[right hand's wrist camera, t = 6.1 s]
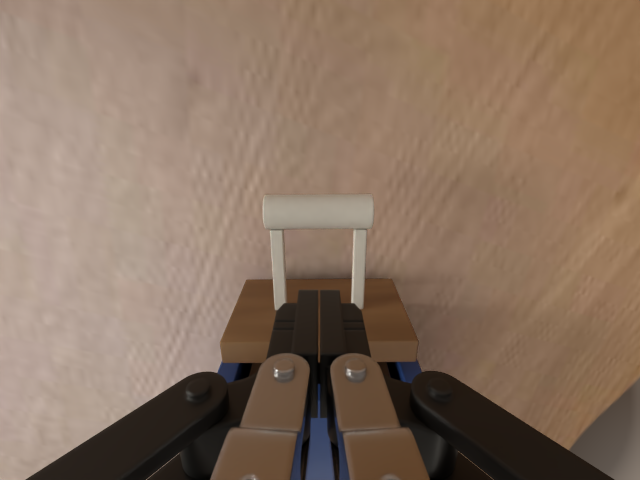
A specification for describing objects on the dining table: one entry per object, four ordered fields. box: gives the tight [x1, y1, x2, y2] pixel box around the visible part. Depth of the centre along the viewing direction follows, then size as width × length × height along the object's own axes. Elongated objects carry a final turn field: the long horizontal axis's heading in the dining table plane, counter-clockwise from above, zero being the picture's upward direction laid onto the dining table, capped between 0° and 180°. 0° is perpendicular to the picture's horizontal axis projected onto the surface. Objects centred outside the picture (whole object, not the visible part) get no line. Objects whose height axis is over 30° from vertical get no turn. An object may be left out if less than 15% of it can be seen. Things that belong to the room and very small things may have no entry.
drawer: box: [220, 194, 419, 384], centre depth 20 cm, size 25×9×6 cm, turn 0°
